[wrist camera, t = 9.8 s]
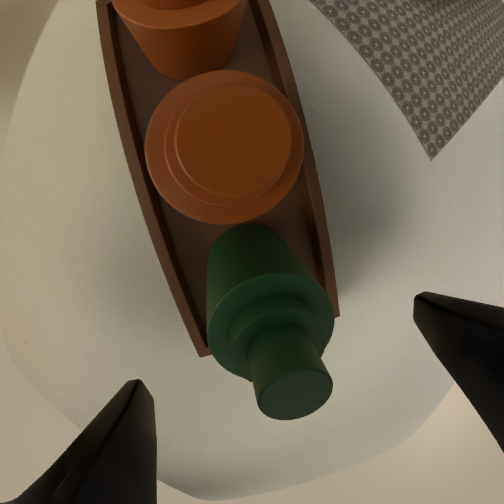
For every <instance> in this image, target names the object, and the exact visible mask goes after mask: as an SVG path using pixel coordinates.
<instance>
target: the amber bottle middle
mask: <svg viewBox="0 0 504 504" xmlns="http://www.w3.org/2000/svg"><path fill="white" fill-rule="evenodd" d="M303 153H304V139H303V132H302V128H301V124H300V121H299V118H298V116H297V114H296V112H295V110H294V108H293V107H292V105H291V103H290V102H289V101H288V100H287V98H286V97H285V96H284V95H283V94H282V93H281V92H280V91H279V90H278V89H277V88H276V87H274V86H273V85H272V84H270V83H269V82H267V81H265V80H263V79H262V78H260V77H257V76H255V75H252V74H249V73H245V72H241V71H234V70H217V71H210V72H206V73H202V74H198V75H196V76H194V77H191V78H189V79H187V80H185V81H184V82H182V83H180V84H179V85H177V86H176V87H175V88H174V89H172V90H171V91H170V92H169V93H168V94H167V95H166V96H165V97H164V98H163V99H162V101H161V102H160V103H159V105H158V106H157V108H156V109H155V111H154V113H153V115H152V117H151V120H150V122H149V125H148V128H147V132H146V137H145V159H146V165H147V169H148V172H149V175H150V177H151V180H152V182H153V184H154V186H155V187H156V189H157V190H158V192H159V193H160V195H161V196H162V197H163V198H164V199H165V200H166V201H167V202H168V203H169V204H170V205H171V206H172V207H173V208H175V209H176V210H178V211H179V212H181V213H182V214H184V215H186V216H188V217H190V218H192V219H195V220H198V221H201V222H205V223H210V224H221V225H224V224H235V223H241V222H245V221H248V220H251V219H254V218H256V217H258V216H260V215H262V214H264V213H266V212H267V211H269V210H270V209H272V208H273V207H274V206H275V205H277V204H278V203H279V202H280V201H281V200H282V199H283V198H284V197H285V196H286V194H287V193H288V192H289V190H290V189H291V188H292V186H293V184H294V182H295V181H296V179H297V176H298V174H299V171H300V168H301V164H302V161H303Z"/></svg>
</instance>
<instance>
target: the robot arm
mask: <svg viewBox="0 0 504 504" xmlns="http://www.w3.org/2000/svg"><path fill="white" fill-rule="evenodd" d="M413 319H414V322H415V324H416V325H417V327H418V328H419V330H420V331H421V333H422V334H423V336H424V338H425V339H426V341H427V342H428V344H429V346H430V347H431V349H432V350H433V352H434V353H435V355H436V356H437V358H438V359H439V360H440V362H441V363H442V364H443V366H444V367H445V368H446V369H447V371H448V372H449V373H450V375H451V376H452V377H453V379H454V380H455V381H456V383H457V384H458V385H459V387H460V388H461V389H462V391H463V392H464V394H465V395H466V397H467V398H468V399H469V401H470V402H471V404H472V405H473V406H474V408H475V409H476V411H477V412H478V414H479V415H480V417H481V418H482V419H483V421H484V422H485V424H486V425H487V427H488V429H489V430H490V432H491V433H492V435H493V436H494V438H495V439H496V440H497V442H498V444H499V446H500V448H501V449H502V451H503V452H504V308H503V307H498V306H494V305H489V304H484V303H479V302H474V301H469V300H465V299H460V298H455V297H450V296H445V295H441V294H436V293H431V292H422V293H420V294H418V295H416V296H415V298H414V310H413ZM156 471H157V437H156V425H155V411H154V400H153V397H152V395H151V394H150V392H149V391H148V389H147V388H146V386H145V385H144V383H143V382H142V381H141V380H140V379H136V380H130V381H128V382H127V383H126V384H125V385H124V386H123V387H122V388H121V389H120V390H119V391H118V393H117V394H116V395H115V396H114V397H113V398H112V399H111V400H110V401H109V403H108V404H107V405H106V406H105V407H104V408H103V409H102V410H101V411H100V413H99V414H98V415H97V416H96V417H95V418H94V419H93V420H92V421H91V423H90V424H89V425H88V426H87V427H86V428H85V429H84V430H83V431H82V433H81V434H80V435H79V436H78V437H77V438H76V439H75V441H74V442H73V443H72V444H71V445H70V446H69V447H68V448H67V449H66V451H64V453H63V454H62V455H61V456H60V457H59V458H58V459H57V460H56V461H55V463H54V464H53V465H52V466H51V467H50V468H49V469H48V470H47V471H46V472H45V473H44V474H43V475H42V476H41V477H39V478H38V479H37V480H36V481H35V482H34V483H33V484H32V485H31V486H30V487H29V488H28V489H26V490H25V491H24V492H23V493H22V494H21V495H20V496H19V497H18V498H16V499H14V500H12V501H9V502H5V503H0V504H157V492H156V491H157V484H156Z"/></svg>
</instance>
